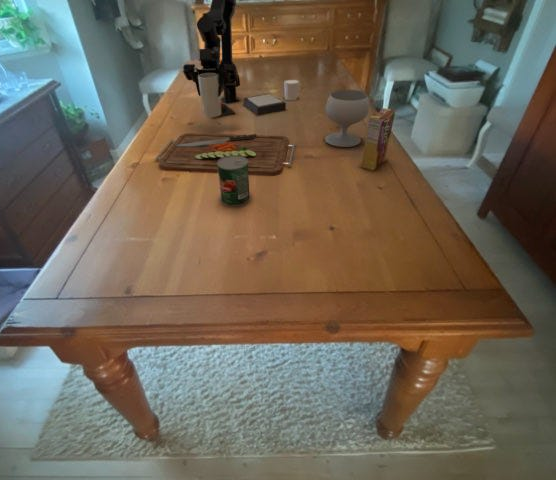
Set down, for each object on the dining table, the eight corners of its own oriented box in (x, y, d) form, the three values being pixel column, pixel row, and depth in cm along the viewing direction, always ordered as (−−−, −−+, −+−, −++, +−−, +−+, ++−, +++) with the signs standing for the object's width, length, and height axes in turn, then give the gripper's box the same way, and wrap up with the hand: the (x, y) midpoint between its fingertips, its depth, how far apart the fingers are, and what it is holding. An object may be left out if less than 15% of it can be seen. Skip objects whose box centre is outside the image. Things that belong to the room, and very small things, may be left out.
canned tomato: (216, 204, 94) (211, 166, 87) (228, 189, 100) (224, 153, 92) (243, 208, 92) (240, 170, 84) (254, 194, 97) (252, 157, 90)
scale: (243, 105, 153) (243, 97, 151) (269, 100, 157) (269, 92, 154) (257, 115, 143) (257, 107, 140) (285, 110, 146) (285, 101, 144)
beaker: (200, 113, 129) (194, 74, 120) (216, 109, 132) (212, 71, 123) (208, 118, 125) (203, 79, 116) (224, 114, 127) (221, 75, 118)
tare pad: (203, 110, 150) (202, 103, 149) (224, 106, 153) (224, 100, 151) (212, 118, 142) (211, 112, 140) (235, 114, 145) (234, 108, 143)
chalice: (336, 152, 115) (343, 104, 105) (315, 137, 124) (318, 92, 114) (371, 144, 119) (380, 97, 108) (347, 130, 128) (354, 86, 118)
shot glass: (297, 101, 154) (298, 83, 150) (282, 100, 156) (282, 83, 151) (299, 96, 159) (300, 79, 155) (284, 95, 161) (284, 79, 156)
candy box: (372, 156, 112) (383, 107, 101) (385, 160, 109) (397, 110, 99) (359, 167, 107) (369, 116, 96) (372, 171, 105) (383, 119, 94)
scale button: (213, 106, 147) (212, 102, 146) (221, 104, 148) (220, 100, 147) (215, 108, 144) (215, 104, 143) (223, 107, 146) (223, 103, 144)
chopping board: (148, 169, 111) (146, 160, 109) (176, 136, 130) (174, 127, 128) (288, 176, 104) (289, 166, 102) (296, 140, 123) (296, 131, 121)
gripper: (179, 37, 116) (176, 83, 116) (233, 36, 114) (230, 82, 113) (189, 58, 127) (186, 100, 127) (239, 57, 125) (236, 100, 125)
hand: (209, 95), depth 123 cm, fingers closed on beaker, 7 cm apart
